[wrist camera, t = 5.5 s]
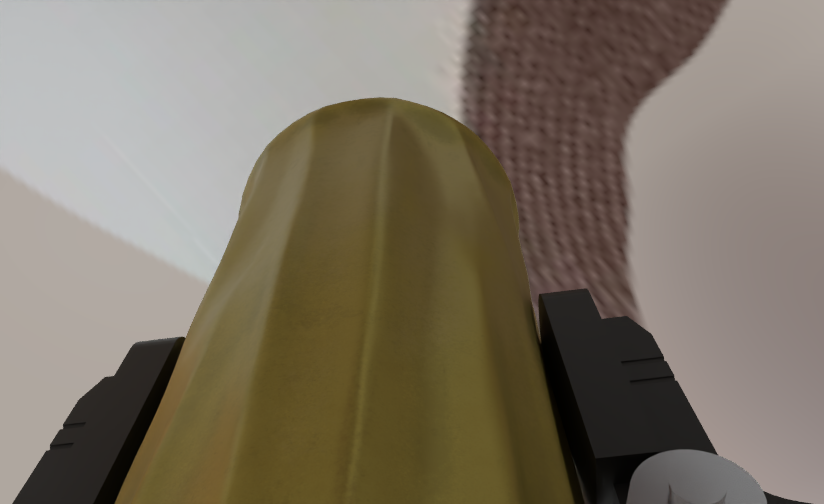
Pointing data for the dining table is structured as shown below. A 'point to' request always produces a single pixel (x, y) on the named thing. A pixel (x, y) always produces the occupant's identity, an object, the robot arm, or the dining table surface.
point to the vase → (364, 332)
